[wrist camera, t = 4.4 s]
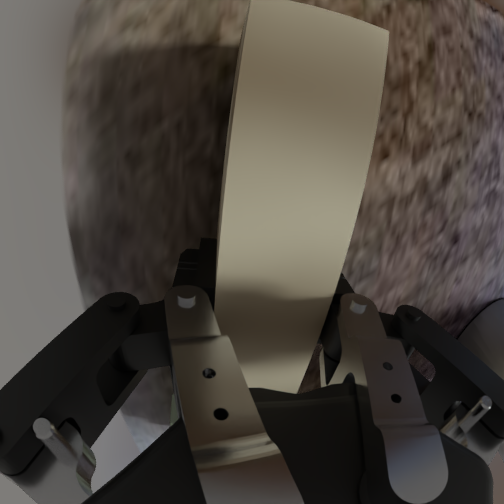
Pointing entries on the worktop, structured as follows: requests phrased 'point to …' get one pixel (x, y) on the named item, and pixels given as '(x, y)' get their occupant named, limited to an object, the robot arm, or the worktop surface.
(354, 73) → the bar
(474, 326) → the robot arm
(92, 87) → the worktop surface
